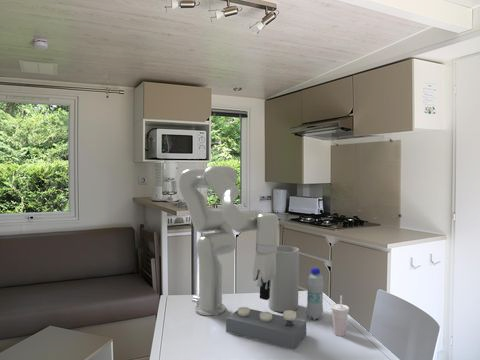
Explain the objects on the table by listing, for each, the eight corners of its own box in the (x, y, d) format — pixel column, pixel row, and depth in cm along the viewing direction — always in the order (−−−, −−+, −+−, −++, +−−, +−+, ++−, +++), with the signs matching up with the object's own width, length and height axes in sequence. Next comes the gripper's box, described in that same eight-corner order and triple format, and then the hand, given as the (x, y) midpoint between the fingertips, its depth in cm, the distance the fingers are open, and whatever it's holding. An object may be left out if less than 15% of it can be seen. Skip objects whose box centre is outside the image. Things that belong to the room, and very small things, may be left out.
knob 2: (281, 331, 127) (281, 313, 127) (286, 326, 131) (286, 309, 131) (293, 334, 125) (293, 316, 125) (297, 329, 129) (298, 311, 129)
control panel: (226, 331, 134) (226, 318, 133) (242, 319, 144) (242, 307, 144) (294, 349, 121) (294, 334, 121) (306, 335, 132) (306, 321, 131)
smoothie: (338, 339, 128) (339, 299, 128) (326, 331, 134) (327, 293, 134) (352, 335, 131) (353, 296, 131) (340, 328, 137) (340, 291, 137)
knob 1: (235, 327, 136) (235, 310, 136) (241, 322, 140) (241, 306, 140) (246, 329, 134) (246, 312, 134) (251, 325, 138) (251, 308, 138)
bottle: (323, 322, 143) (324, 270, 142) (305, 320, 144) (306, 269, 143) (323, 315, 149) (324, 266, 148) (306, 313, 150) (307, 265, 150)
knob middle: (257, 332, 132) (257, 315, 131) (262, 327, 136) (263, 310, 135) (268, 335, 130) (269, 317, 129) (273, 330, 133) (274, 313, 133)
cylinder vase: (264, 310, 154) (265, 250, 153) (273, 300, 165) (274, 244, 164) (293, 315, 149) (294, 253, 148) (301, 304, 161) (302, 247, 160)
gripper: (265, 242, 140) (264, 290, 141) (247, 250, 127) (245, 303, 128) (284, 245, 136) (282, 294, 137) (267, 254, 123) (265, 308, 124)
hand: (264, 298), depth 133 cm, fingers closed
